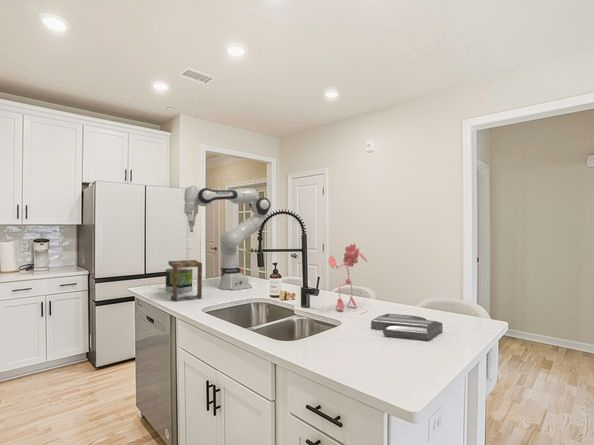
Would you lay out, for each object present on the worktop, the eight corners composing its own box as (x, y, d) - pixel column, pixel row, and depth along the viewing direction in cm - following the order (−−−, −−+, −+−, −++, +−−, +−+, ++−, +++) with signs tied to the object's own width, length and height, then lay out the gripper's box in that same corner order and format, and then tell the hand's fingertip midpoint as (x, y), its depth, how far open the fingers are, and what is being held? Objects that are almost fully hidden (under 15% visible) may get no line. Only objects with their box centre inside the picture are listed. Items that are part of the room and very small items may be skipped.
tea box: (192, 291, 218) (193, 268, 218) (180, 293, 209) (180, 270, 209) (177, 288, 226) (178, 266, 226) (165, 291, 217) (165, 268, 217)
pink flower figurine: (323, 311, 170) (325, 243, 170) (356, 304, 187) (358, 242, 186) (345, 318, 159) (347, 245, 158) (378, 310, 175) (380, 244, 175)
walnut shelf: (194, 292, 213) (194, 259, 213) (201, 298, 196) (201, 263, 196) (168, 294, 205) (168, 261, 206) (172, 301, 188) (173, 264, 188)
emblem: (414, 308, 159) (457, 325, 132) (414, 319, 159) (457, 339, 132) (361, 312, 151) (395, 331, 125) (361, 323, 151) (395, 345, 125)
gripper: (196, 207, 213) (196, 228, 211) (196, 213, 232) (196, 232, 230) (185, 207, 211) (185, 229, 209) (186, 213, 230) (186, 232, 228)
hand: (191, 231), depth 220 cm, fingers open, 8 cm apart
